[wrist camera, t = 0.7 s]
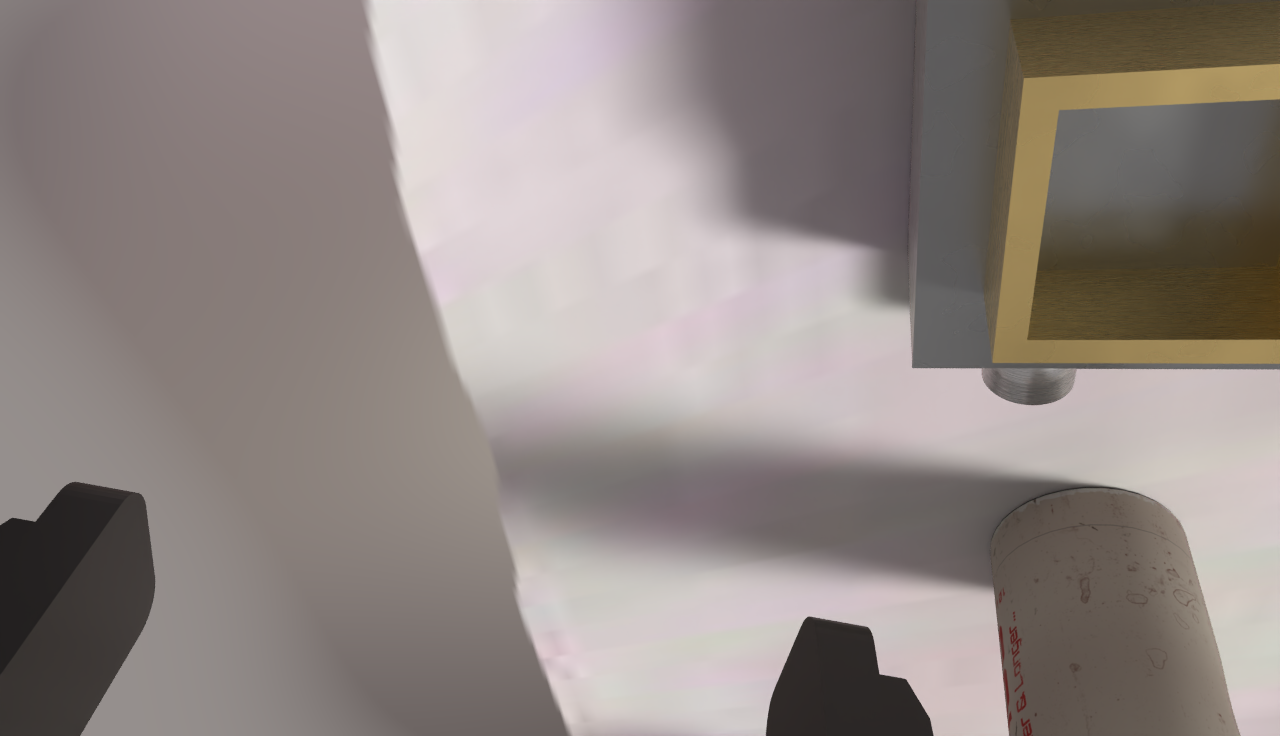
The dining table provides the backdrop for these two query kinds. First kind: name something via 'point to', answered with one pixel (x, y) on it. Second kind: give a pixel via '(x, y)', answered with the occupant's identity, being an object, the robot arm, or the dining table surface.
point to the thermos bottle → (1104, 621)
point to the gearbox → (1094, 188)
